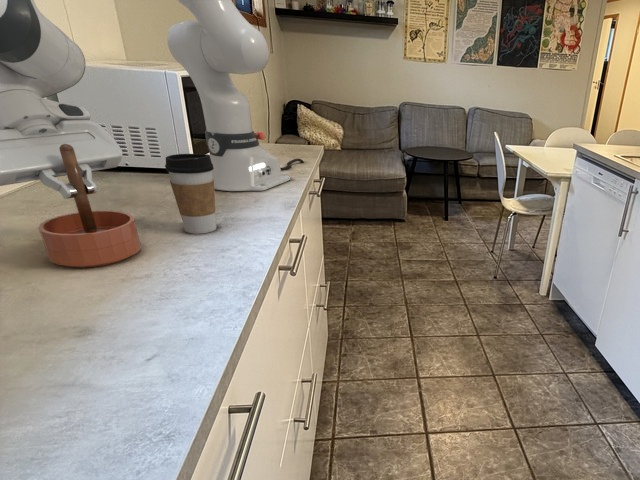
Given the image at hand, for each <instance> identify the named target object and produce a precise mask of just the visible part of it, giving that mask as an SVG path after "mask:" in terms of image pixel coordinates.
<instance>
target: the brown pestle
mask: <svg viewBox="0 0 640 480" xmlns="http://www.w3.org/2000/svg"><path fill="white" fill-rule="evenodd" d="M59 149H60V153H61V156H62V160H63V163H64V166H65V170H66V173H67V175H66V176H67V179H68V182H69V183H71V184H72V185H73V186H74V188H75V189H76V190H77V195H76V197H74V198H73V199H74V202H75V205H76V209H77V212H79V216H80V219H81V222H82V225H83V229H84V231H80V232H77V233H75V234H82V233H93V232H99V231H105V230H106V229H97V227H96V224H95V220H94V217H93V214H92V211H93V210H92V207H91V204H90V203H91V202H90V199H89V197H88V196H89V195H87V193H86V189H85V186H84V183H83V181H84V178H82V176H81V172H80V169H79V165H78V162H77V159H76V155H75V152H74V149H73V147H72V146H71V145H68V144H62V145H61V146H60V148H59Z"/></svg>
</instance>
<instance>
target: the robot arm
mask: <svg viewBox="0 0 640 480" xmlns="http://www.w3.org/2000/svg"><path fill="white" fill-rule="evenodd" d="M176 1H177V2H179V4H181V5H183V7H186V9H188V11H190V13H191V14H192V15H193V16H194V17H195V18H196V19H195V20H194V19H190V20H185V21H181V22H177V23H175V24H173V25H171V26H170V27H169V29H168V33H167V39H166V40H167V46H168V50H169V52H170V54H171V56H172V57H173V58H174V60H175V61H176V62H177V63H178V64H180V65H181V67H183V69H184V70H185V71H186V73H187V74H188V75H189V77H190V79H191V81H192V83H193V84H194V87H195V89H196V91H197V94H198V96H199V98H200V102H201V107H202V108H201V109H202V112H203V118H204V123H205V124H204V125H205V129H206V130H205V131H204V135H205V142H206V146H207V149H208V153H209V154H208V155H210V159H211V162H212V164H213V168H214V169H213V170H212V178H213V179H214V190H218V191H225V192H226V191H227V192H246V191H253V192H254V191H255V192H256V191H257V192H259V191H260V192H261V191H266V190H269V189H271V188H273V187H276V186H279V185H281V184H283V183H284V184H285V183H286V182H288V181H291V176H290V175H289V174H286V173H282V171H287V170H288V169H291V168H292V164H294V163H296V162H300V163H301V164H305V161H304V160H303V159H302V158H294V159H291V160H289V161H288V162H287V163H286V165H285V166H282V167H281V163H280V161H279V158H277V157H276V156H275V155H273V154H272V153H271V152H269V151H268V150H267V149H265V148H264V147H263V146H261V145H260V142H259V140H261V141H265V140H266V133H265V132H263V131H261V132H260V131H256V132H255V131H254V130H253V122H252V115H251V114H252V113H251V107H250V102H249V100H248V97H247V96H246V95H245V94H244V93H243V92H241V90H239V89H238V88H237V86H236V85H235V84H234V81H233V79H232V77H231V75H230V74H233V75H250V74H256V73H260V72H262V71H264V70H265V68H266V67H267V65H268V62H269V57H270V51H269V46H268V43H267V40H266V38H265V36H264V35H263V33H262V32H261V31H260V30H259V29H257V27H254V26H253V25H252V24H251V23H249V21H248V20H247V19H246V18H245V17H244V15H242V13H241V12H240V10H239V9H238V8H237V7H236V5H235V3H234V2H233V0H176ZM85 72H86V58H85V55H84V53H83V51H82V49H81V48H80V47H79V45H78V44H77V43H76V42H74V41H73V40H72V39H71V38H70V37H69V36H68V35H67V34H66V33H64V31H63V30H62V29H60V28H59V27H58V26H57V25H56V24H54V23H53V22H52V21H51V20H50V19H48V18H47V17H46V16H45V15H44V14H43V13H42V12H41V11H40V10H39V8H38V6H37V4H36V2H35V0H0V187H3V186H10V185H15V184H22V183H28V182H35V181H40V182H41V183H42V184H43V185H44V186H46V187H47V188H50V189H52V190H55V191H56V192H58V193H59V194H60V195H61V197H63V199H64V200H69V199H74V197H76V195H77V190H76V189H75V188H74V186H73V185H72V184H71V183H65V182H63V181H61V179H58V178H59V177H64V176H67V173H66V170H65V166H64V163H63V160H62V156H61V153H60V149H59V148H60V146H61V145H62V144H68V145H71V146H72V147H73V149H74V152H75V155H76V159H77V162H78V165H79V169H80V172H81V176H82V179H83V183H84V186H85V189H86V193H87V196H89V195H94V194H97V191H98V186H97V184H96V183H95V182H94V181H93V173H92V172H96V171H100V170H101V171H102V170H107V169H113V168H114V169H115V168H117V167H119V166H120V163H121V161H122V159H123V156H124V151H123V149H122V148H121V147H120V145H119V144H118V143H117V141H116V140H115V139H114V137H112V136H111V134H110V133H109V132H108V131H107V130H106V129H105V128H104V127H103V126H102V125H101V124H99V123H97V122H96V121H93V120H91V117H92V116H91V113H90V111H89V110H88V109H87V108H86V107H83V106H81V105H77V104H76V105H75V104H71V103H70V104H69V103H64V102H60V101H55V100H52V99H48V98H49V97H52V96H55V95H57V94H60V93H62V92H64V91H67V90H68V89H70V88H72V87H74V86H76V85H77V84H78V83H79V82H80V81H81V80H82V78H83V76H84V74H85Z"/></svg>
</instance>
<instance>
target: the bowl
mask: <svg viewBox="0 0 640 480" xmlns="http://www.w3.org/2000/svg"><path fill="white" fill-rule="evenodd" d="M92 214H93V217H94V220H95V224H96V227H97V229H106V230H105V231H99V232H93V233H82V234H75V233H77V232H80V231H84V229H83V225H82V222H81V219H80V216H79V212H78V211H77V212H71V213H67V214H62V215H57V216H54V217H52V218H48V219H46V220H44V221H43V222H40V224H38V225H39V226H38V227H37V229H38V231H39V235H40V237H41V241H42V243H43V246H44V250H45V252H46V255H47V259H49V261H50V262H52V263H53V264H56V265H59V266H65V267H70V268H93V267H102V266H107V265H112V264H116V263H118V262H119V263H120V262H121V261H125V260H127V259H129V258H130V257H132V256H134V255H135V254H137V253H139V251H140V250H141V248H142V247H141V246H142V243H141V241H140V236H139V232H138V228H137V224H136V218H135V217H134V216H133V215H132V214H131V213H128V212H125V211H119V210H92Z"/></svg>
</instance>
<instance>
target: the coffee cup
mask: <svg viewBox="0 0 640 480" xmlns="http://www.w3.org/2000/svg"><path fill="white" fill-rule="evenodd" d="M164 167H165V171H166V172H168V175H169V179H170V180H169V183H170V186H171V190H172V193H173V195H174V199H175V202H176V205H177V208H178V212H179V215H180V218H181V222H182V225H183V230H184V232H186V233H189V234H194V235H196V234H197V235H198V234H208V233H212V232H214V231H216V230H217V215H216V196H215V189H214V179H213V178H212V170H213V169H214V168H213V164H212V162H211V159H210V154H207V153H177V154H171V155H167V156H166V157H165V164H164Z"/></svg>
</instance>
